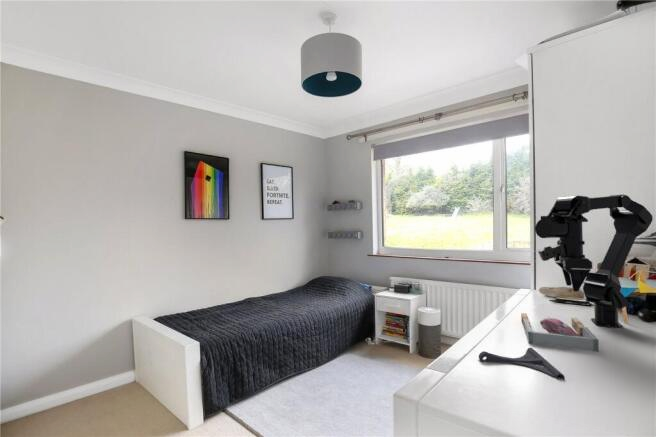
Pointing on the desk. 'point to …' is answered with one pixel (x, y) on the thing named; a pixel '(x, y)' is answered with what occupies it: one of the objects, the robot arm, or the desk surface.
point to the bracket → (525, 362)
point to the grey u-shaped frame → (563, 339)
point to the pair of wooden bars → (575, 323)
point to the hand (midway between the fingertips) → (572, 288)
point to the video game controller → (557, 327)
